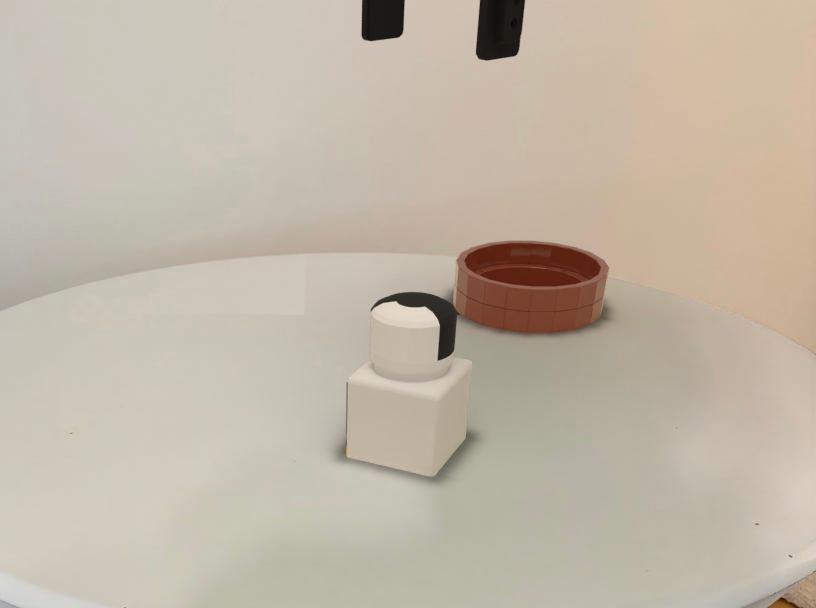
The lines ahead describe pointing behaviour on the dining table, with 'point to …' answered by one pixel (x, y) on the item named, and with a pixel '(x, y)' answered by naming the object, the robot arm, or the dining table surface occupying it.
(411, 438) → the medicine bottle
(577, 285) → the bowl
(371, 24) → the robot arm
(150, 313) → the dining table surface
